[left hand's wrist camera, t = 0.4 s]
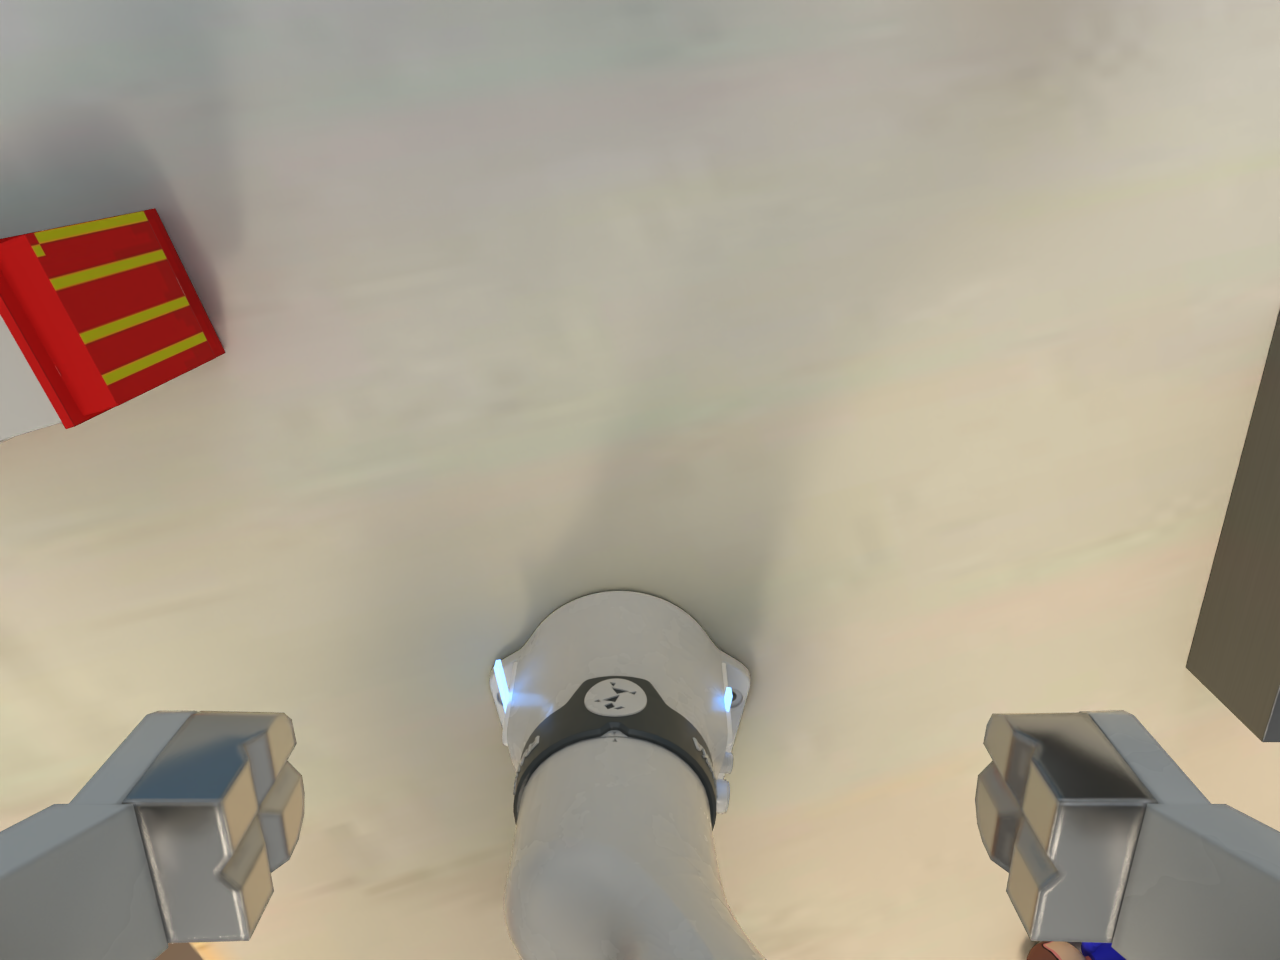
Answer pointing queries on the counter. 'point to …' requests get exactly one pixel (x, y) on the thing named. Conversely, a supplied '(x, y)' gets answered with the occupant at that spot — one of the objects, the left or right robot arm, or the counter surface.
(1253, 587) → the bar
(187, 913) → the left robot arm
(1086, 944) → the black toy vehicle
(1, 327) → the toy
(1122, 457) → the counter surface
